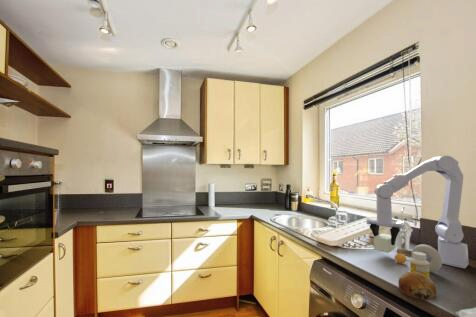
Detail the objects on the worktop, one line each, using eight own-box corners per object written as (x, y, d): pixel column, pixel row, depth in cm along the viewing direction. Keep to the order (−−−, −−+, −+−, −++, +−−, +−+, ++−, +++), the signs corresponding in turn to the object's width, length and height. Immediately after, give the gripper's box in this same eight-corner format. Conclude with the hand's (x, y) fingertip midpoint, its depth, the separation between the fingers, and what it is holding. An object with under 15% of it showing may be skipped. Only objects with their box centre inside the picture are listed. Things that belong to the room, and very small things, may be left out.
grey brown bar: (426, 258, 112) (426, 254, 112) (425, 259, 111) (425, 254, 111) (397, 252, 120) (397, 248, 120) (397, 253, 120) (397, 248, 120)
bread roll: (437, 306, 81) (438, 279, 84) (434, 303, 74) (434, 274, 77) (400, 295, 87) (402, 270, 90) (394, 292, 81) (396, 265, 83)
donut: (409, 268, 102) (409, 242, 102) (414, 266, 104) (413, 240, 104) (440, 277, 93) (439, 248, 94) (444, 275, 95) (443, 247, 96)
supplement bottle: (430, 286, 86) (429, 257, 86) (410, 282, 89) (410, 254, 89) (428, 280, 91) (428, 252, 91) (410, 277, 93) (409, 250, 94)
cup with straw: (388, 248, 126) (387, 207, 126) (401, 246, 129) (400, 206, 130) (405, 254, 118) (404, 209, 119) (418, 251, 121) (417, 208, 122)
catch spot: (417, 259, 112) (417, 258, 112) (413, 262, 108) (413, 262, 108) (401, 255, 116) (401, 255, 116) (397, 258, 112) (397, 258, 112)
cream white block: (381, 245, 119) (381, 233, 119) (396, 248, 115) (395, 235, 115) (373, 249, 113) (373, 236, 113) (388, 252, 109) (388, 239, 109)
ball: (408, 263, 106) (407, 253, 106) (404, 266, 104) (404, 256, 104) (397, 261, 109) (396, 251, 110) (393, 263, 107) (393, 253, 107)
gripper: (363, 210, 117) (364, 241, 117) (399, 215, 106) (400, 248, 106) (369, 209, 122) (370, 238, 121) (405, 213, 111) (406, 245, 111)
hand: (385, 243), depth 114 cm, fingers closed on cream white block, 6 cm apart
